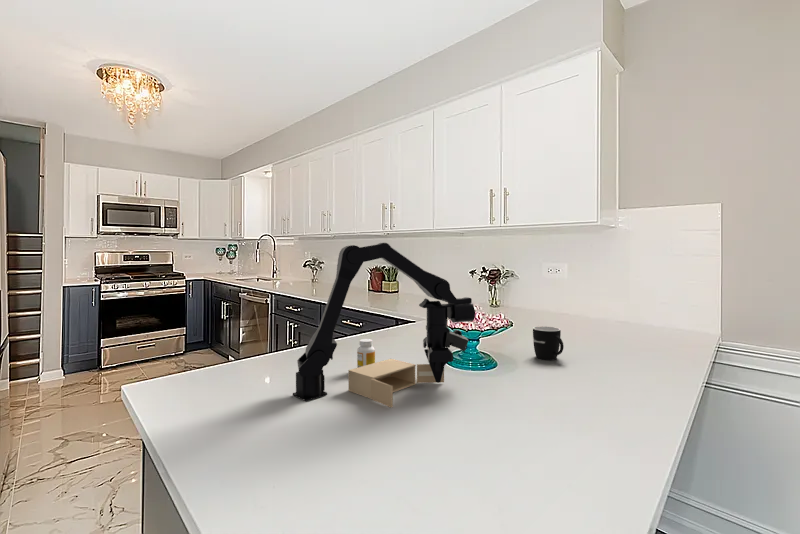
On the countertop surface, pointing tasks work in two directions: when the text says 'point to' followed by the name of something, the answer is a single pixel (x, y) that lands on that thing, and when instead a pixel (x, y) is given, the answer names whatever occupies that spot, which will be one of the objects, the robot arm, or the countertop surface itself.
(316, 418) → the countertop surface
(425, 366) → the right flap
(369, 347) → the supplement bottle
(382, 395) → the left flap
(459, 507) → the countertop surface
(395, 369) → the carton
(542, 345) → the mug
